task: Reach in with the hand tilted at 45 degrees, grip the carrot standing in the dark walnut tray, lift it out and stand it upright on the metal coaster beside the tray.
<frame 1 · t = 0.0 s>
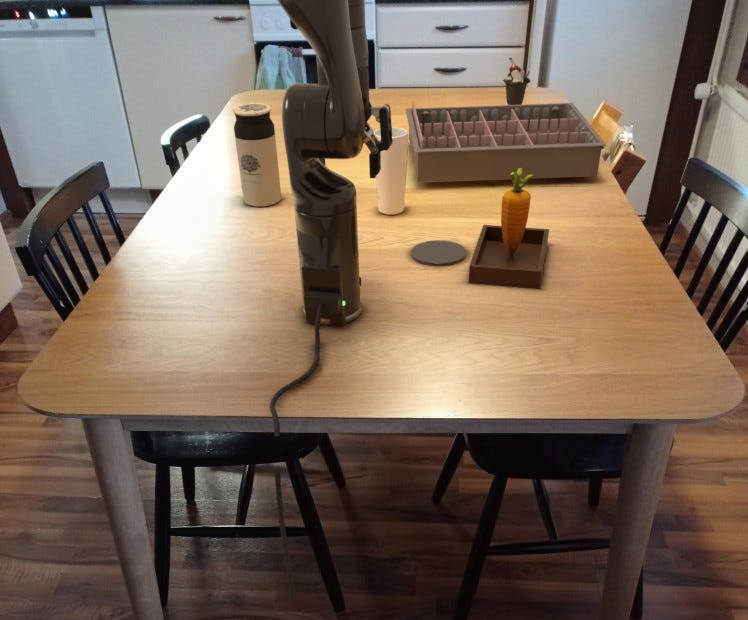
hand: (347, 175, 124), 17 cm above the table, tool pointing down, fingers open, 8 cm apart
tray: (509, 263, 138), on the table
metal coaster: (438, 254, 141), on the table
sundae: (512, 123, 201), on the table
travel mug: (262, 201, 164), on the table
organizer tray: (496, 163, 178), on the table
drinking glass: (391, 211, 158), on the table
carrot: (510, 256, 139), resting in tray
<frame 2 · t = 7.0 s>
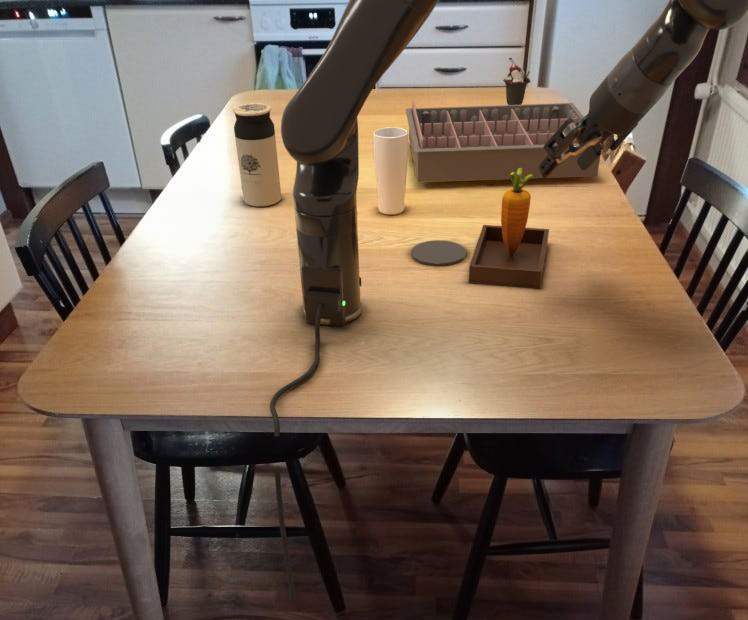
hand: (562, 169, 121), 18 cm above the table, tool tilted 35°, fingers open, 8 cm apart
nothing on the table moved.
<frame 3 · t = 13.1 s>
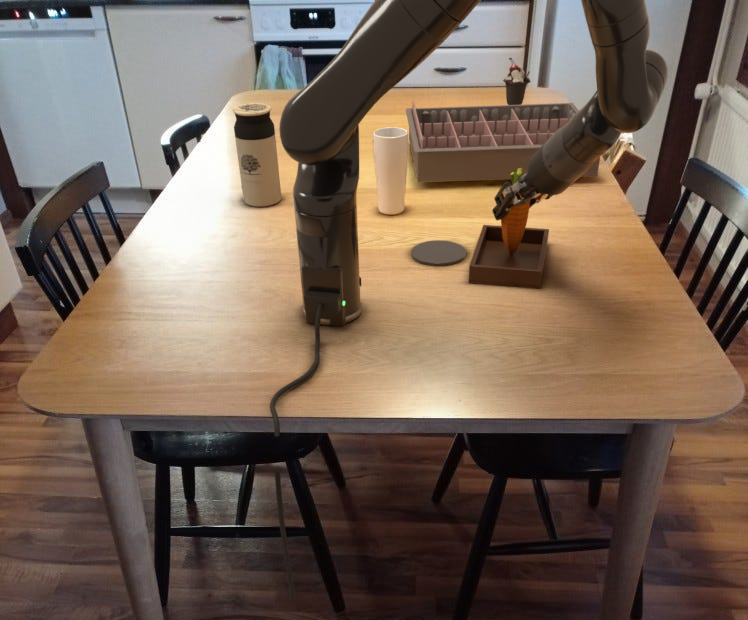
hand: (508, 211, 136), 8 cm above the table, tool tilted 45°, fingers closed on carrot, 4 cm apart
carrot: (510, 256, 139), resting in tray, touching gripper
everything else where it was.
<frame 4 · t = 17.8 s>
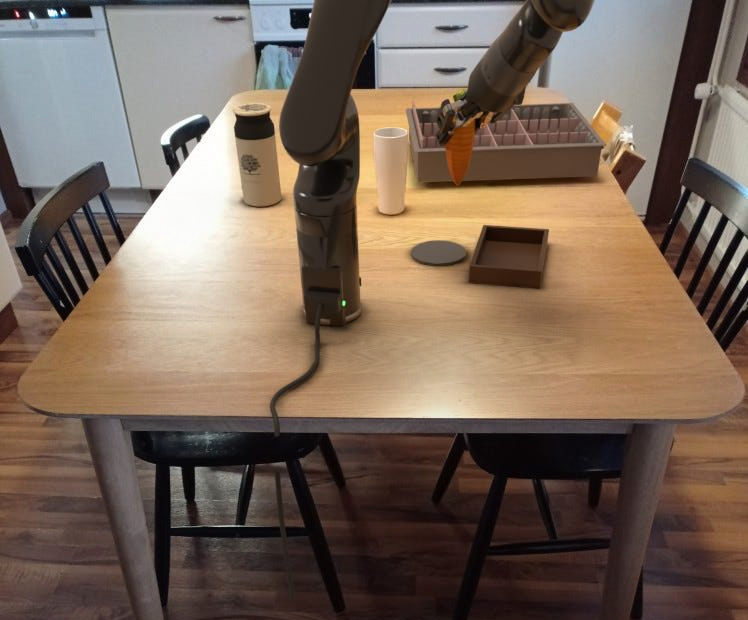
hand: (453, 137, 129), 20 cm above the table, tool tilted 45°, fingers closed on carrot, 4 cm apart
carrot: (457, 186, 133), point 12 cm above the table, touching gripper
everything else where it was.
when the fingers open (8 cm above the table, at t = 22.7 s): carrot stays where it is, resting on metal coaster.
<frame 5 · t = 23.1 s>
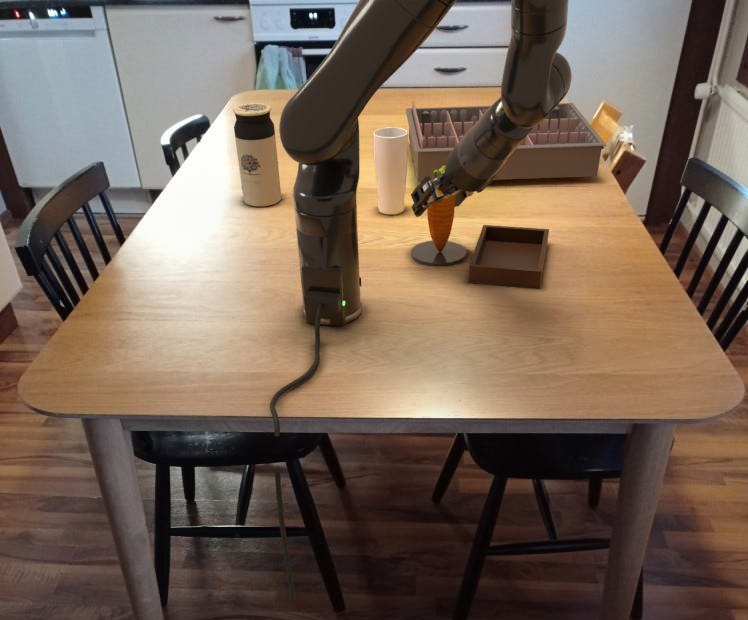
hand: (435, 206, 137), 8 cm above the table, tool tilted 45°, fingers open, 8 cm apart
carrot: (440, 252, 141), resting on metal coaster
everything else where it was.
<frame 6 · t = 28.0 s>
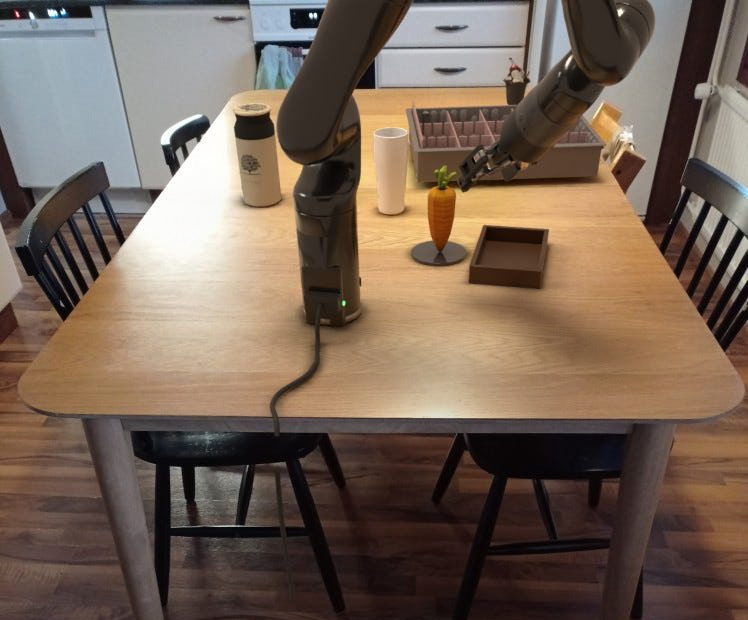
hand: (483, 181, 123), 16 cm above the table, tool tilted 45°, fingers open, 8 cm apart
nothing on the table moved.
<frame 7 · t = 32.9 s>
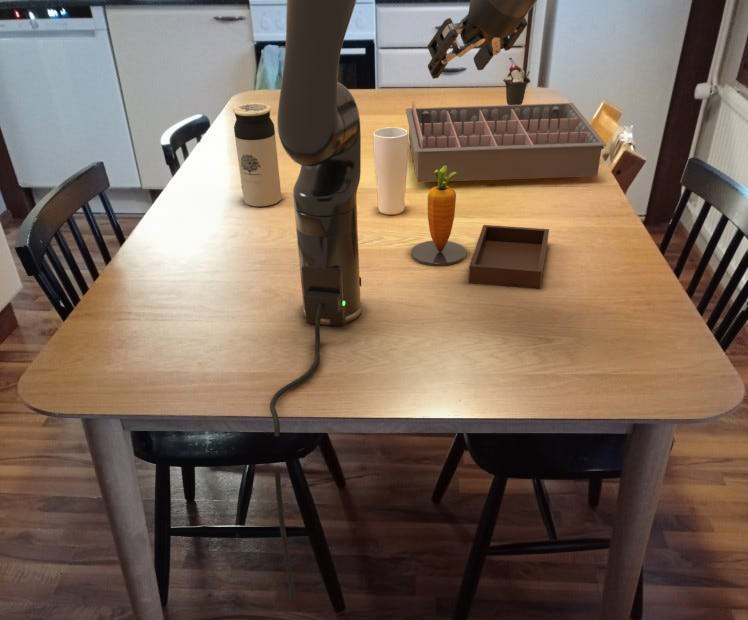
hand: (455, 68, 119), 31 cm above the table, tool tilted 45°, fingers open, 8 cm apart
nothing on the table moved.
at the end: carrot inside the target area on the metal coaster (0.3 cm from its centre), point 0.3 cm above the metal coaster's base; carrot tilted 0°; carrot touching metal coaster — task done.
